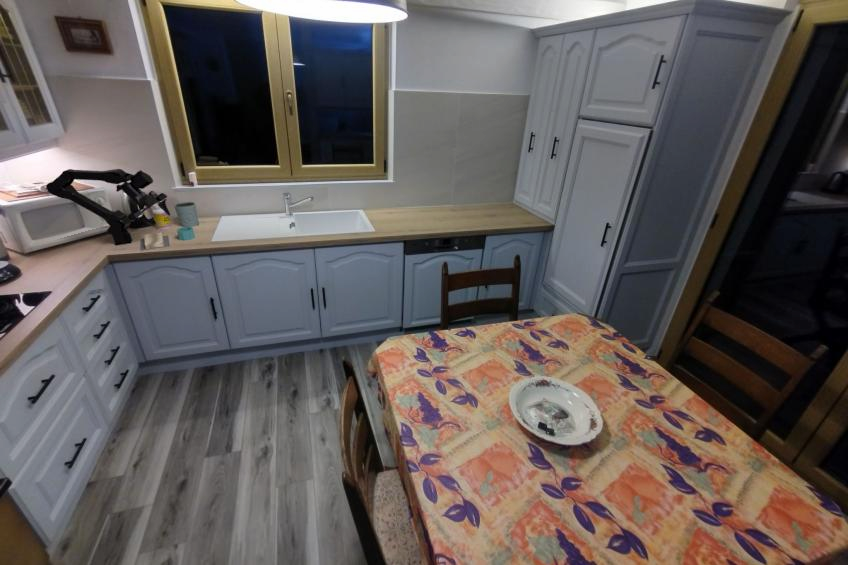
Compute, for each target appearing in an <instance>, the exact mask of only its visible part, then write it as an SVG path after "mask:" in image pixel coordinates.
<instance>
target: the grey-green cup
mask: <svg viewBox="0 0 848 565" xmlns="http://www.w3.org/2000/svg"><path fill="white" fill-rule="evenodd" d="M173 206H174V207H173V208H174V210H175V212H176V215H177V218H178V220H179V222H180V226H181V228H183V227H192V228H193V227H198V226H199V225H200V222H199V217H198V212H197V207H196V202H194V201H185V202H178V203H175V204H174V205H173Z"/></svg>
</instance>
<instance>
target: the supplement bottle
mask: <svg viewBox="0 0 848 565" xmlns="http://www.w3.org/2000/svg"><path fill="white" fill-rule="evenodd" d="M157 204H158V203H156V204H154V205H153V210H152V214H153V217H154V221H155V223H156V224H155V226H156V227H157V229H158V230H165V229H170V228H172V222H171V218H170V216H169V215H168V214H166V213H165V212H164V211H163V210H162V209H161V208H160V207H159V206H158V205H157Z"/></svg>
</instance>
